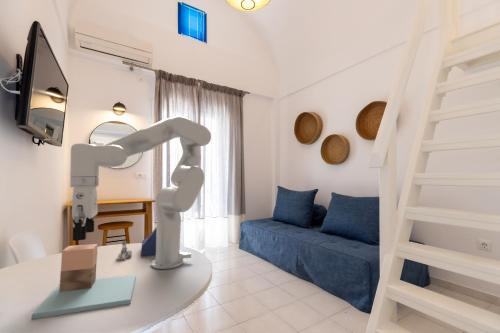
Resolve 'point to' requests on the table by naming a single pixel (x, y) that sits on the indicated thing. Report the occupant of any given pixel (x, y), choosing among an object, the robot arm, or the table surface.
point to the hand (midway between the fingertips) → (84, 235)
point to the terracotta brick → (79, 257)
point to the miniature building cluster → (124, 253)
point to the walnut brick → (77, 279)
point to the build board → (88, 297)
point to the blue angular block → (149, 244)
